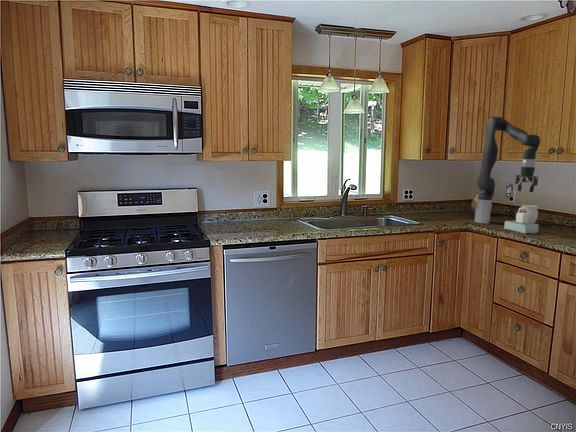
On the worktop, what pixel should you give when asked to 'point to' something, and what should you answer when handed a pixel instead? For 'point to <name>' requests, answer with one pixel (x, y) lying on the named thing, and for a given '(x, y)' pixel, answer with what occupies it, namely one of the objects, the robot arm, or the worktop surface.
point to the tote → (521, 227)
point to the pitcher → (530, 212)
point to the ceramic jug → (475, 203)
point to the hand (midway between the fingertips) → (525, 191)
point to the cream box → (522, 217)
